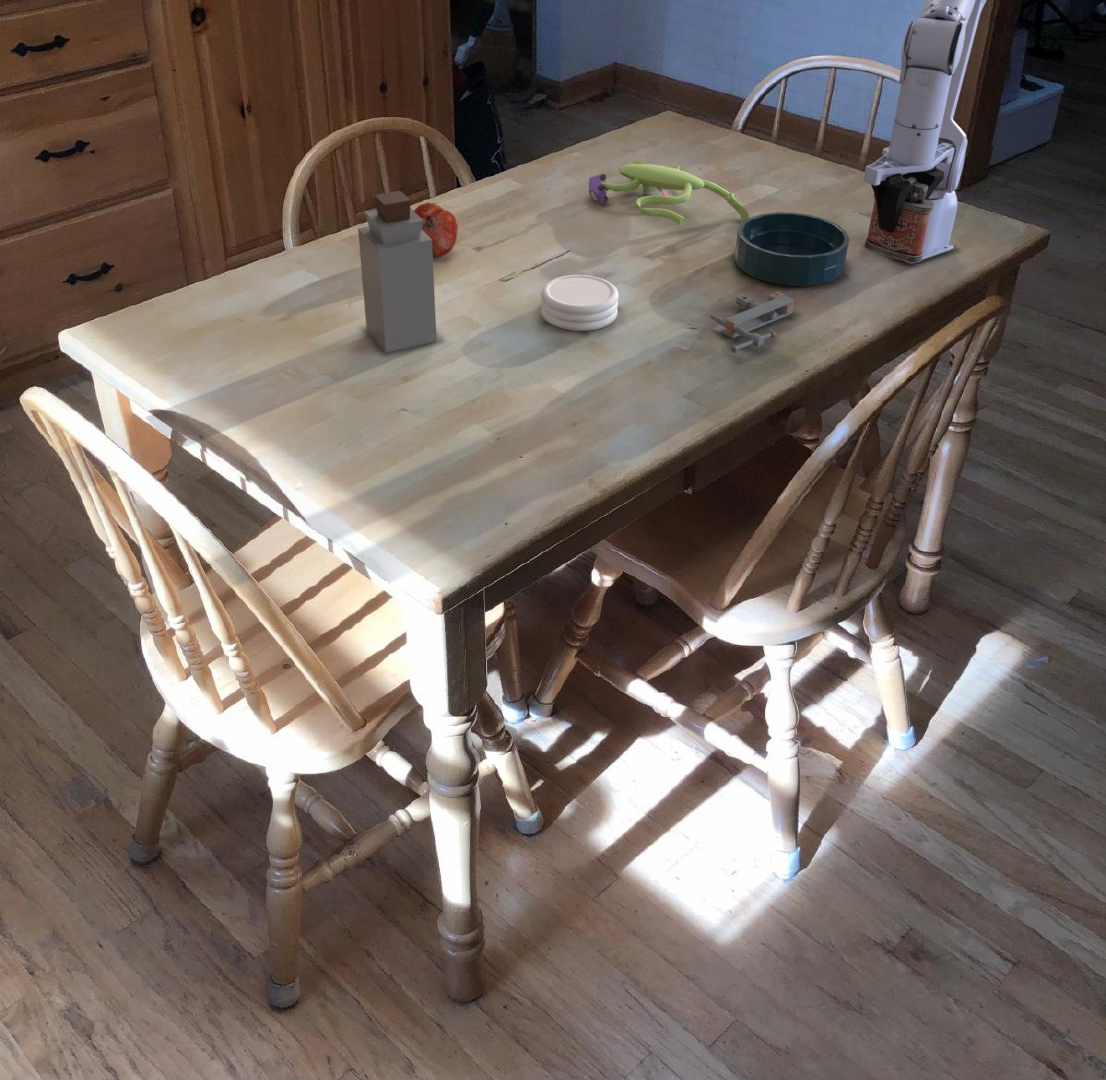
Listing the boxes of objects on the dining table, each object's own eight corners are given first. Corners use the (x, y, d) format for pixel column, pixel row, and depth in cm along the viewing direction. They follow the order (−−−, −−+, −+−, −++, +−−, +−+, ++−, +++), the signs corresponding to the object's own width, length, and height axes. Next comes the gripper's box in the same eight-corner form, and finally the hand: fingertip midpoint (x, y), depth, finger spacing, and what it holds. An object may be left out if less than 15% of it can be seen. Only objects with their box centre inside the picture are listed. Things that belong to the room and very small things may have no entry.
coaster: (529, 324, 157) (529, 299, 155) (556, 292, 164) (556, 268, 162) (603, 338, 154) (604, 313, 152) (627, 305, 162) (628, 280, 159)
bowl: (789, 233, 181) (793, 204, 178) (866, 270, 171) (871, 240, 169) (712, 257, 174) (715, 227, 171) (788, 297, 164) (792, 266, 161)
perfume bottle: (386, 352, 150) (375, 212, 139) (366, 329, 155) (355, 192, 144) (436, 341, 153) (430, 203, 142) (415, 318, 158) (408, 183, 147)
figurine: (656, 252, 175) (659, 214, 172) (566, 188, 194) (566, 153, 190) (761, 228, 182) (765, 192, 179) (664, 169, 201) (666, 135, 197)
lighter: (926, 257, 160) (943, 183, 154) (914, 265, 158) (930, 190, 152) (872, 240, 164) (886, 167, 158) (859, 247, 162) (873, 173, 156)
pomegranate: (408, 258, 177) (390, 241, 167) (420, 209, 177) (403, 189, 167) (456, 269, 176) (442, 253, 166) (469, 220, 176) (455, 201, 166)
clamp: (762, 282, 163) (819, 309, 157) (760, 297, 164) (816, 325, 158) (680, 314, 155) (737, 344, 149) (679, 329, 156) (735, 360, 150)
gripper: (931, 102, 157) (910, 204, 165) (853, 123, 150) (835, 228, 158) (975, 118, 153) (952, 221, 161) (897, 140, 146) (876, 247, 154)
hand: (897, 226), depth 159 cm, fingers closed on lighter, 4 cm apart
